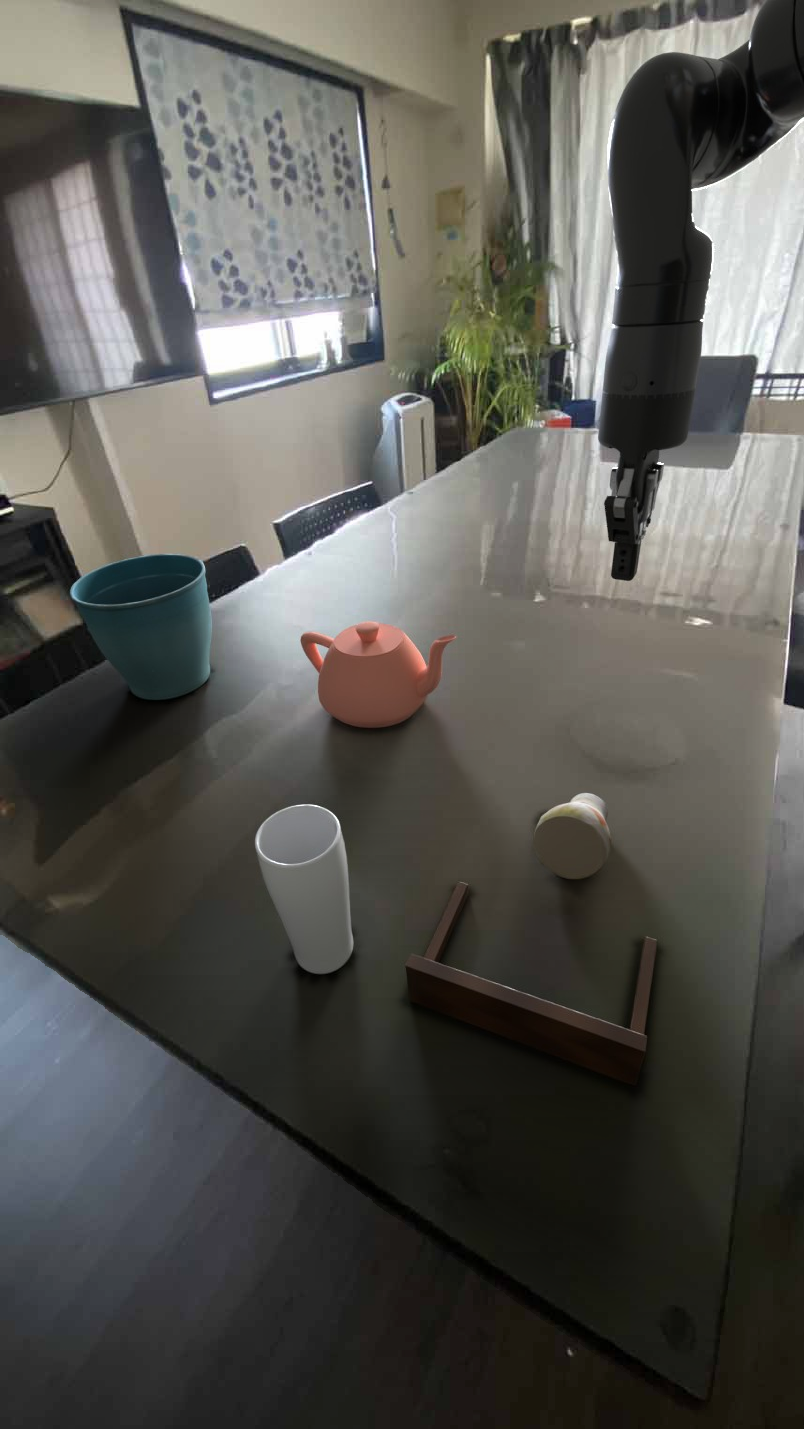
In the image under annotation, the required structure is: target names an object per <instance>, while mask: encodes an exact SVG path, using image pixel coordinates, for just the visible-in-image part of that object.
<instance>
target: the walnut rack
mask: <svg viewBox="0 0 804 1429" xmlns="http://www.w3.org/2000/svg"><path fill="white" fill-rule="evenodd" d="M468 896H469V884H468V883H465V882H462V881H457V884H456V886H455V888H454V890H453V893H452V895H451V897H450V899H449V901H448V903H447V905H446V908H445V910H444V912H443V914H442V917H441V918H440V921H439V923H438V925H437V926H436V927H437V928H436V929H435V932H434V933H433V936H432V938H431V941H430V942H429V945H428V947H427V949H426V951H425V953H424V955H423V957H422V956H420V955H417V954H414V953H410V955H409V957H408V959H407V961H406V963H405V965H404V966H405V975H406V983H407V992H408V1000H409V1001H410V1002H412V1003H415V1004H417V1005H420V1006H422V1007H425V1008H427V1009H430V1010H433V1011H436V1012H438V1013H441V1014H444V1015H446V1016H448V1017H451V1018H455V1019H457V1020H460V1021H462V1022H464V1023H467V1024H469V1025H473V1026H475V1027H477V1028H480V1029H483V1030H485V1031H488V1032H491V1033H493V1034H496V1035H498V1036H502V1037H504V1038H506V1039H509V1040H511V1041H514V1042H517V1043H519V1044H522V1045H525V1046H527V1047H530V1048H533V1049H536V1050H538V1051H540V1052H543V1053H545V1054H549V1055H551V1056H554V1057H557V1058H559V1059H562V1060H564V1061H566V1062H567V1061H568V1062H570V1063H572V1064H575V1065H578V1066H580V1067H583V1068H586V1069H588V1070H591V1071H593V1072H596V1073H598V1074H601V1075H603V1076H607V1077H608V1078H611V1079H614V1080H617V1081H620V1082H622V1083H625V1084H627V1085H630V1086H632V1087H636V1086H637V1082H638V1079H639V1075H640V1072H641V1068H642V1065H643V1061H644V1058H645V1054H646V1051H647V1044H648V1042H647V1041H648V1036H647V1035H645V1030H646V1024H647V1016H648V1010H649V1003H650V996H651V989H652V982H653V975H654V969H655V961H656V954H657V946H658V939H656V938H651V937H648V936H645V937H644V939H643V944H642V950H641V956H640V961H639V968H638V974H637V981H636V987H635V993H634V999H633V1005H632V1010H631V1017H630V1022H629V1023H630V1024H629V1028H625V1027H623V1026H619V1025H617V1024H615V1023H611V1022H608V1021H606V1020H602V1019H600V1018H596V1017H594V1016H591V1015H588V1014H585V1013H584V1012H579V1011H576V1010H574V1009H571V1008H568V1007H565V1006H562V1005H559V1004H556V1003H554V1002H551V1001H548V1000H546V999H542V998H539V997H537V996H535V995H531V994H529V993H525V992H522V991H521V990H517V989H514V988H511V987H509V986H506V985H502V984H500V983H496V982H494V981H491V980H488V979H485V978H483V977H479V976H478V975H474V974H472V973H469V972H466V971H462V970H460V969H456V968H454V967H451V966H448V965H444V964H443V963H440V960H441V957H442V956H443V953H444V950H445V949H446V947H447V944H448V942H449V939H450V938H451V935H452V933H453V930H454V928H455V926H456V924H457V921H458V919H459V917H460V914H461V912H462V910H463V907H464V905H465V903H466V900H467V898H468Z"/></svg>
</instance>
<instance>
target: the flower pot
mask: <svg viewBox="0 0 804 1429" xmlns="http://www.w3.org/2000/svg"><path fill="white" fill-rule="evenodd" d="M206 572H207V571H206V567H205V564H204V562H203V561H202V560H200V559H199V558H197V557H195V556H191V555H186V554H180V553H159V554H147V555H142V556H135V557H130V558H125V559H122V560H118V561H114V562H111V563H109V564H106V565H103V566H101V567H98V568H95V569H94V570H91V571H89V572H88V573H86V574H84V575H83V576H81V577H80V578H79V579H76V581H75V582H74V583H73V584H72V586H70V587H71V588H70V590H69V596H70V599H71V600H72V601H73V603H74V604H75V605H76V607H77V609H78V611H79V614H80V615H81V617H82V618H83V620H84V622H85V625H86V626H87V629H88V630H89V633H90V635H91V637H92V638H93V641H94V642H95V644H96V646H97V647H98V649H99V650H100V652H101V653H102V655H103V656H104V657H105V659H106V660H107V661H108V662H109V663H110V664H111V666H112V667H113V668H114V669H115V670H116V671H117V672H118V674H120V676H121V677H122V678H123V680H124V681H125V682H126V683H127V685H128V686H129V689H130V692H131V693H132V694H133V695H134V696H136V697H137V698H140V699H143V700H149V701H161V700H170V699H174V698H178V697H181V696H184V695H186V694H189V693H192V692H193V691H195V690H197V689H198V688H200V687H201V686H202V685H204V684H205V682H207V680H208V679H209V677H210V675H211V667H210V652H211V642H212V633H213V632H212V631H213V622H212V611H211V604H210V598H209V593H208V584H207V579H206Z"/></svg>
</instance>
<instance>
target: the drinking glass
mask: <svg viewBox="0 0 804 1429" xmlns="http://www.w3.org/2000/svg"><path fill="white" fill-rule="evenodd" d="M254 848H255V852H256V857H257V861H258V866H259V870H260V872H261V873H260V874H261V876H262V879H263V882H264V885H265V887H266V888H265V889H267V892H268V895H269V897H270V900H271V902H272V904H273V906H274V909H275V911H276V912H277V915H278V917H279V919H280V922H281V924H282V926H283V929H284V931H285V933H286V936H287V938H288V940H289V943H290V945H291V948H292V952H293V954H294V958H295V961H296V962H297V964H298V965H299V966H300V967H301V968H302V969H303V970H305V971H306V972H308V973H311V974H315V975H326V974H331V973H333V972H335V971H337V970H339V969H340V968H342V967H343V966H344V965H345V964H346V963H347V962H348V961H349V959H350V958H351V956H352V953H353V950H354V942H355V941H354V936H353V930H352V918H351V916H352V914H351V899H350V879H349V877H350V876H349V865H348V856H347V850H346V845H345V839H344V835H343V832H342V828H341V823H340V821H339V819H338V818H337V816H336V815H335V814H334V813H333V812H332V811H330V810H329V809H327V808H326V807H322V806H319V805H315V804H296V805H291V806H288V807H285V808H283V809H282V808H281V809H280V810H278V811H275V813H273V814H271V815H270V816H269V817H268V818H266V819H265V820H264V821H263V822H262V823H261V825H260V826H259V828H258V830H257V831H256V834H255V838H254Z"/></svg>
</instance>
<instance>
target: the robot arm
mask: <svg viewBox="0 0 804 1429" xmlns="http://www.w3.org/2000/svg"><path fill="white" fill-rule="evenodd" d="M803 121H804V0H764V2H763V4H762V5H761V7H760V9H759V10H758V13H757V15H756V16H755V19H754V22H753V24H752V27H751V31H750V34H749V39H748V40H747V41H745V42H744V43H743V44H741V45H740V46H739V47H737V48H736V49H735V50H733V51H731V52H729V53H727V54H726V55H724V56H722V57H720V58H712V57H706V56H699V55H695V54H690V53H685V52H679V51H670V52H664V53H660V54H657V55H654V56H653V57H651V58H649V59H647V60H646V61H645V62H644V63H643V64H642V65H641V66H639V67H638V68H637V69H636V71H635V72H634V73H633V74H632V76H631V77H630V78H629V80H628V82H627V84H626V85H625V87H624V89H623V91H622V93H621V95H620V97H619V100H618V101H617V104H616V107H615V110H614V113H613V117H612V120H611V125H610V129H609V135H608V143H607V152H606V153H607V158H606V162H607V163H606V166H607V168H606V169H607V181H608V182H607V183H608V184H607V185H608V192H609V201H610V202H609V203H610V210H611V212H610V213H611V218H612V219H611V221H612V222H611V223H612V231H613V239H614V245H615V251H616V258H617V276H616V281H615V289H614V290H615V291H614V302H613V312H612V321H611V324H612V326H611V328H610V337H609V341H608V345H607V349H606V350H607V351H606V353H605V354H606V355H605V361H604V362H605V364H604V372H603V383H602V390H601V391H602V392H601V393H602V394H601V403H600V412H599V413H600V414H599V422H598V435H597V440H598V443H599V444H600V445H601V446H602V447H605V448H607V449H615V450H616V451H617V452H619V458H618V461H617V466H616V467H612V468H611V471H610V477H609V489H610V490H611V494H610V495H607V496H605V500H604V502H603V506H604V514H605V515H604V516H605V522H606V530H607V531H606V532H607V538H608V542H610V543H611V542H612V543H614V546H613V555H612V561H611V570H610V577H611V578H612V579H613V580H619V581H624V582H625V581H626V582H631V581H632V580H633V579H634V578H635V577H636V575H637V573H638V568H639V560H640V554H641V547H642V540H644V538H645V536H646V534H647V528H649V525H650V524H651V521H652V514H653V512H654V510H655V507H656V501H657V495H658V490H659V487H660V483H661V481H662V479H663V475H664V469H665V464H664V463H661V462H659V459H660V451H664V450H670V449H675V448H677V447H680V446H682V445H683V444H684V443H685V442H686V441H687V439H688V436H689V430H690V424H691V418H692V412H693V406H694V401H695V394H696V389H697V383H698V376H699V370H700V364H701V359H702V349H703V328H704V318H705V312H706V307H707V300H708V295H709V293H708V292H709V288H710V282H711V276H712V271H713V265H714V264H713V263H714V252H715V251H714V250H715V249H714V243H713V240H712V238H711V236H710V235H709V234H708V233H707V232H705V231H703V230H702V229H700V228H699V227H697V226H696V223H695V222H694V217H693V216H694V215H693V191H698V190H702V189H705V188H706V189H707V188H708V187H711V186H713V185H716V184H718V183H720V182H722V181H724V180H726V179H728V178H730V177H732V176H733V175H735V174H736V173H738V172H740V171H742V170H743V169H745V168H746V167H747V166H748V165H750V164H751V163H753V162H754V161H755V160H757V159H758V158H759V157H760V156H762V155H763V154H764V153H766V152H767V151H768V150H770V149H771V148H772V147H773V146H774V145H775V144H778V142H780V141H781V140H783V139H784V137H786V136H787V135H788V134H789V133H791V131H793V130H794V129H795V128H796V127H797V126H798V125H799V124H800V123H802V122H803Z"/></svg>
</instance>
